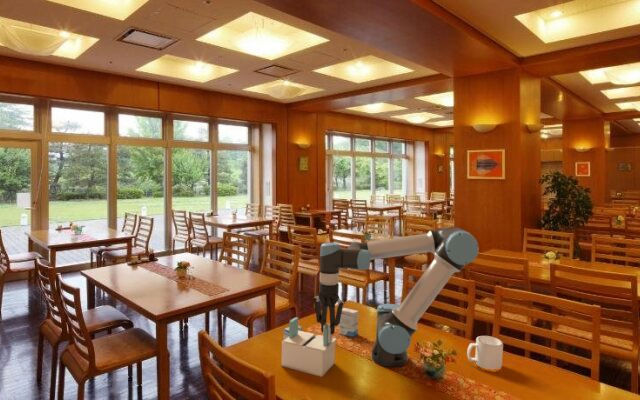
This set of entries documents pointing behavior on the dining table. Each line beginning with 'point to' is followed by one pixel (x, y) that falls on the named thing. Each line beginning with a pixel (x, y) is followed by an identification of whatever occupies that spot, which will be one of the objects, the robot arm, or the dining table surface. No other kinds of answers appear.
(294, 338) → the flap far
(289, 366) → the carton
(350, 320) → the ink box
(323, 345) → the flap near
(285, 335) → the medicine box
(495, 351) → the mug
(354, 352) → the dining table surface
